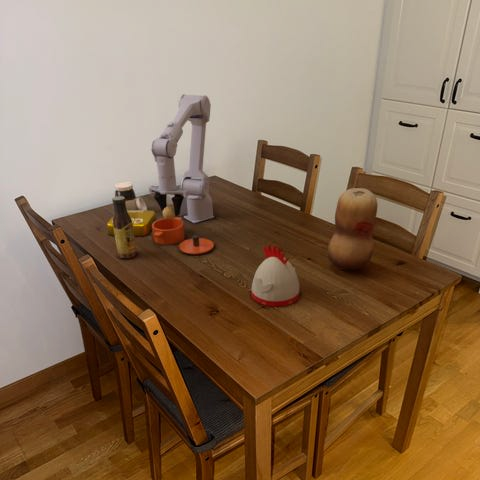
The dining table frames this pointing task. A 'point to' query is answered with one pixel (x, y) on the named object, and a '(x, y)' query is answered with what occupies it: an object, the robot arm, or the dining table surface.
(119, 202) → the sauce bottle
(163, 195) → the robot arm
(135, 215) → the yellow square tin
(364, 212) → the butternut squash
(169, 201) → the lumpy-topped squat cylinder
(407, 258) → the dining table surface
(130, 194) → the spread jar
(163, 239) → the pot
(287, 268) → the kitchen timer
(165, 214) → the potato
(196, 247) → the pot lid
